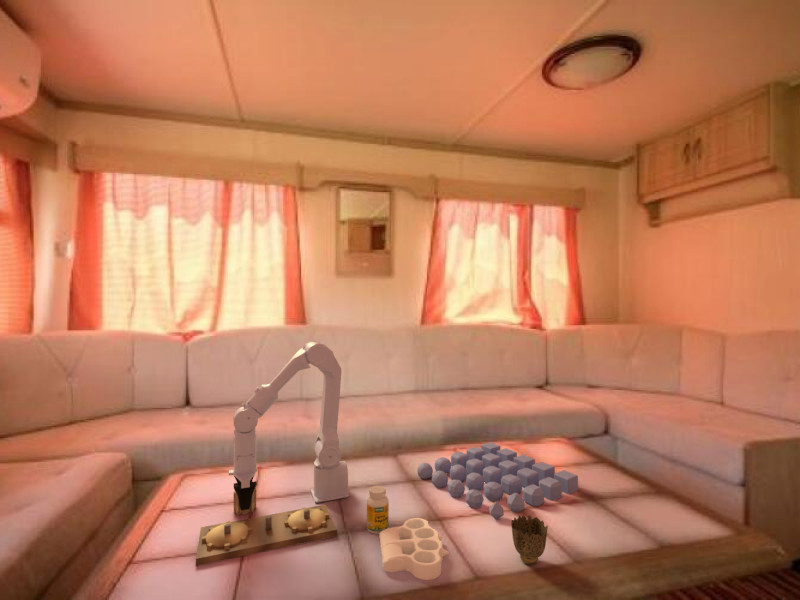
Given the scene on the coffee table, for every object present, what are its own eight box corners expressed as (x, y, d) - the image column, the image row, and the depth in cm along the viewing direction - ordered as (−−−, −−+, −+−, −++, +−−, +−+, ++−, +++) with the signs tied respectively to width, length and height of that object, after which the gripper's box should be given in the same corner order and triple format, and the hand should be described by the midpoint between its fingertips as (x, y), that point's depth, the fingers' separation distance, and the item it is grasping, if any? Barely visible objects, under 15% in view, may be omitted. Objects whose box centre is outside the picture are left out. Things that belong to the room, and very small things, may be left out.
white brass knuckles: (378, 534, 98) (438, 530, 100) (384, 585, 81) (457, 579, 82) (378, 520, 98) (438, 516, 100) (384, 568, 81) (456, 562, 82)
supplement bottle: (381, 520, 104) (381, 482, 104) (392, 530, 99) (392, 490, 99) (362, 526, 101) (362, 487, 101) (373, 537, 96) (373, 496, 96)
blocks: (578, 492, 121) (578, 475, 121) (497, 527, 102) (497, 507, 102) (490, 455, 150) (490, 442, 150) (414, 477, 131) (414, 462, 131)
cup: (506, 551, 91) (506, 515, 91) (538, 549, 91) (538, 513, 92) (518, 573, 83) (518, 534, 83) (553, 571, 84) (553, 532, 84)
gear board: (325, 510, 109) (325, 495, 109) (336, 535, 97) (336, 518, 97) (200, 533, 98) (200, 516, 98) (195, 566, 86) (195, 546, 86)
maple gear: (255, 502, 113) (255, 484, 113) (256, 512, 108) (256, 493, 108) (233, 506, 111) (233, 487, 111) (233, 516, 106) (233, 496, 106)
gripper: (229, 446, 115) (229, 494, 115) (228, 465, 101) (228, 520, 101) (255, 442, 117) (255, 490, 117) (258, 461, 104) (258, 514, 104)
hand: (244, 503), depth 109 cm, fingers closed on maple gear, 6 cm apart
